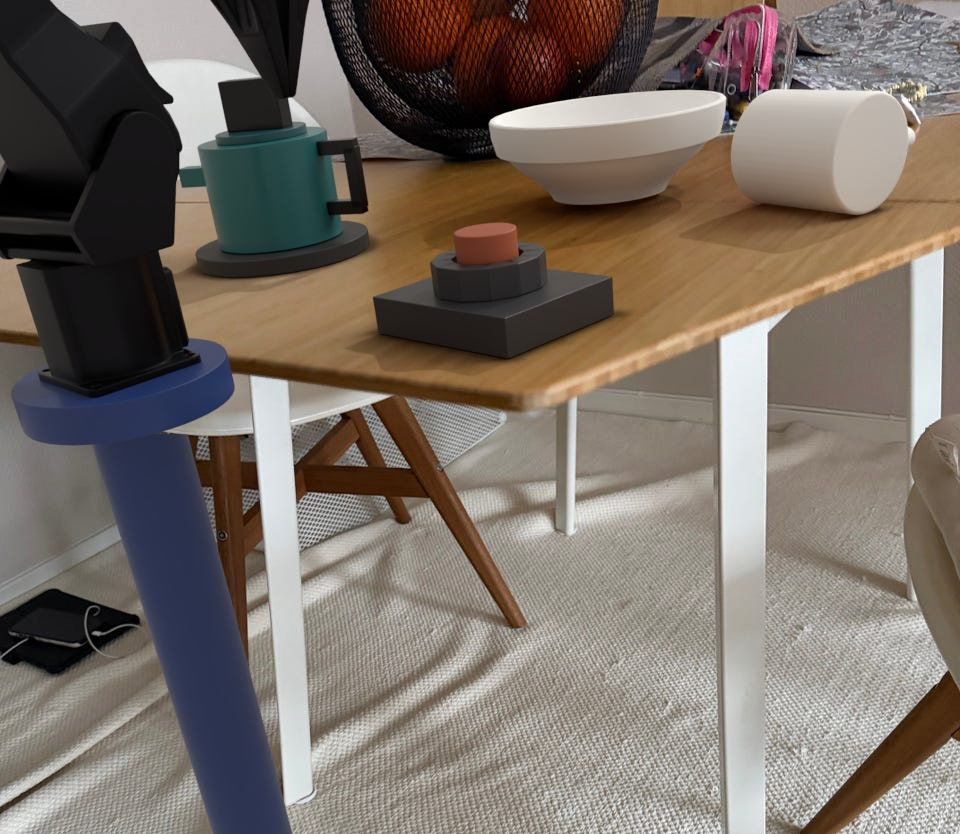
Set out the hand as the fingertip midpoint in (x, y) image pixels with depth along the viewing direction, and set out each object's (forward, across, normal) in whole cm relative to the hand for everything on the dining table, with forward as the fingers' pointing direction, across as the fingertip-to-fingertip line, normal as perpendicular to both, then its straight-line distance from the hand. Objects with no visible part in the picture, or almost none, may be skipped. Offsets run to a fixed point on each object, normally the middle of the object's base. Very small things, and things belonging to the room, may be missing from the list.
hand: (285, 98), depth 62 cm
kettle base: (+13, +12, +21) cm, 27 cm away
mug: (+13, +40, -12) cm, 44 cm away
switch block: (+13, +5, -10) cm, 17 cm away
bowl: (+13, +37, +8) cm, 40 cm away
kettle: (+12, +12, +21) cm, 27 cm away
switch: (+9, +5, -10) cm, 15 cm away
